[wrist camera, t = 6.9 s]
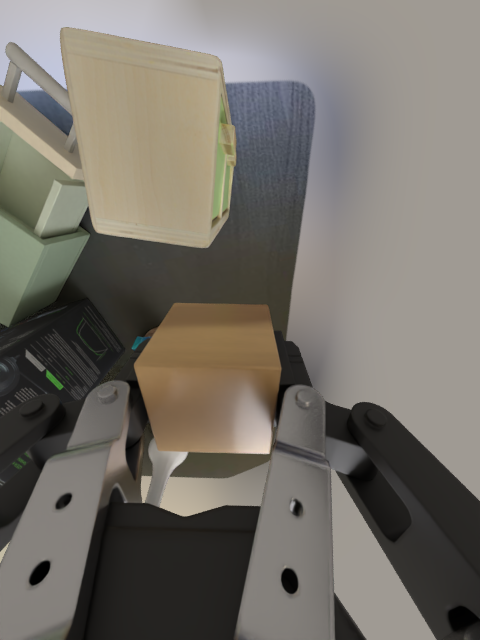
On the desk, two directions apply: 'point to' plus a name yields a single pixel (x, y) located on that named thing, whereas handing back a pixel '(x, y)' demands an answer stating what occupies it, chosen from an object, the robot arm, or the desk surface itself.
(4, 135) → the drawer
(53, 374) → the headset box
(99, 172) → the toy refrigerator
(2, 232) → the cabinet
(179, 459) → the flower vase
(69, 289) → the desk surface
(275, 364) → the block
